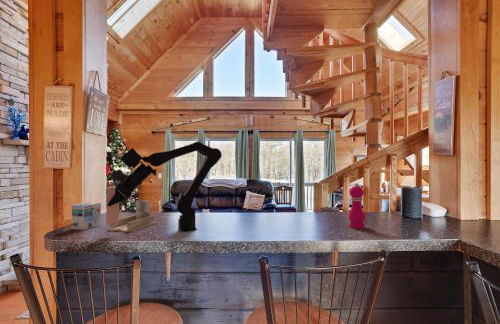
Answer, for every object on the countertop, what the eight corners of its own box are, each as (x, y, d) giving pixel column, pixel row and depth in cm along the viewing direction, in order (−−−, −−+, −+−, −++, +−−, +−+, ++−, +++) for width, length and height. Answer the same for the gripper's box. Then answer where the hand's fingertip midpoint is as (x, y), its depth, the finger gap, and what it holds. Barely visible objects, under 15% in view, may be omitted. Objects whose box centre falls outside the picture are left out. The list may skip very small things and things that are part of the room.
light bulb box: (84, 230, 123) (84, 205, 123) (70, 229, 125) (70, 205, 125) (101, 224, 134) (101, 202, 134) (89, 224, 135) (89, 201, 135)
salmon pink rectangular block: (119, 219, 117) (118, 186, 117) (117, 222, 111) (117, 187, 111) (108, 220, 116) (108, 186, 116) (106, 223, 110) (106, 187, 110)
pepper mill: (347, 228, 126) (347, 183, 126) (348, 224, 133) (348, 182, 133) (365, 229, 123) (365, 183, 123) (365, 226, 130) (365, 182, 130)
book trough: (156, 223, 137) (156, 201, 137) (131, 232, 120) (131, 206, 120) (134, 221, 140) (134, 200, 140) (107, 230, 123) (107, 205, 123)
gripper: (124, 162, 124) (96, 188, 120) (121, 162, 106) (88, 193, 102) (144, 180, 126) (117, 206, 123) (144, 182, 109) (112, 213, 105)
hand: (109, 204), depth 113 cm, fingers closed on salmon pink rectangular block, 6 cm apart
